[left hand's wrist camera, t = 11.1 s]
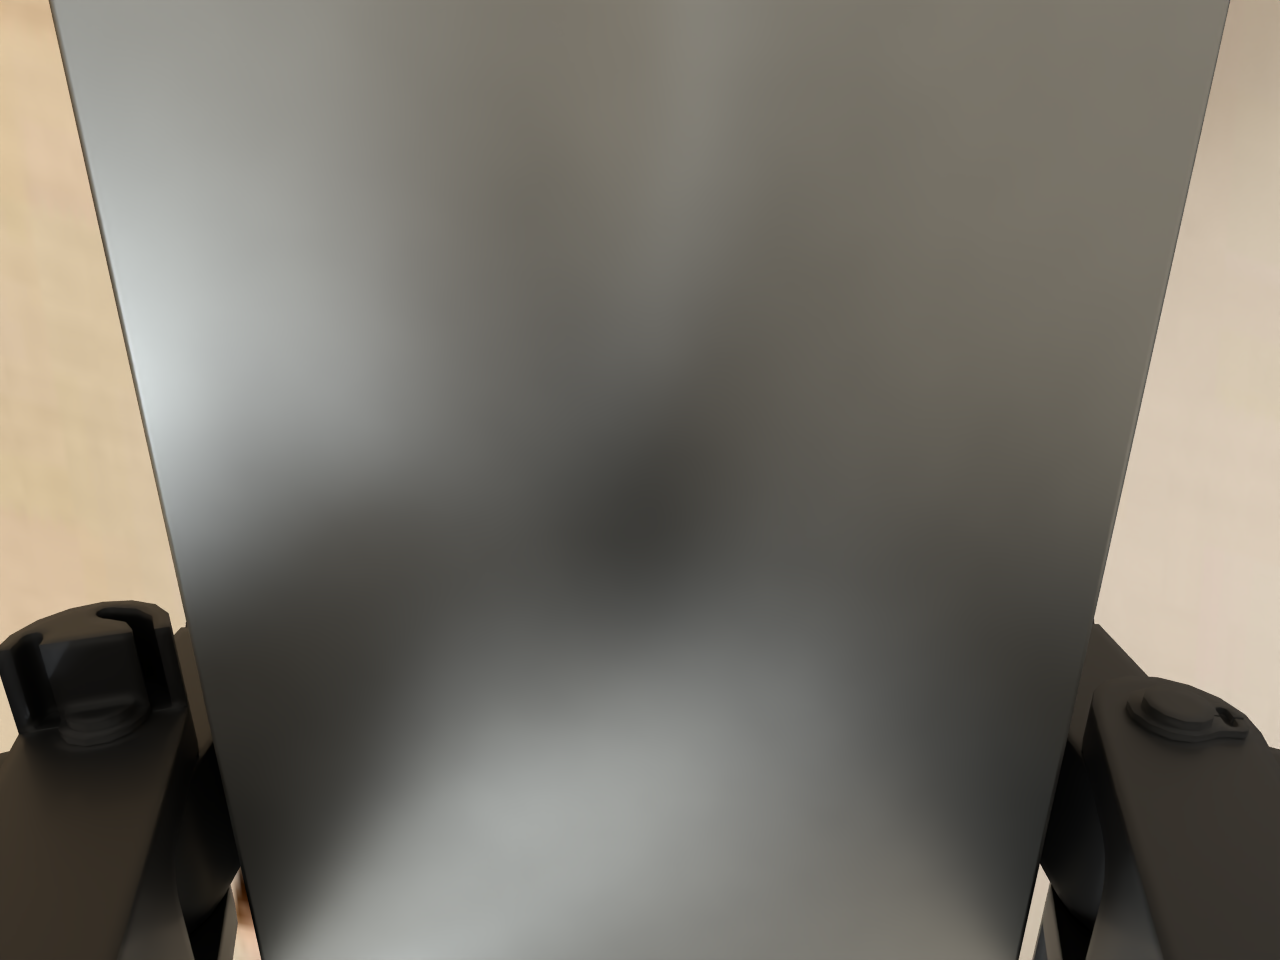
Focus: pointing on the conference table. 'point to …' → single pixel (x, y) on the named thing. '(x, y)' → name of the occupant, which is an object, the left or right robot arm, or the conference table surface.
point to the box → (639, 444)
